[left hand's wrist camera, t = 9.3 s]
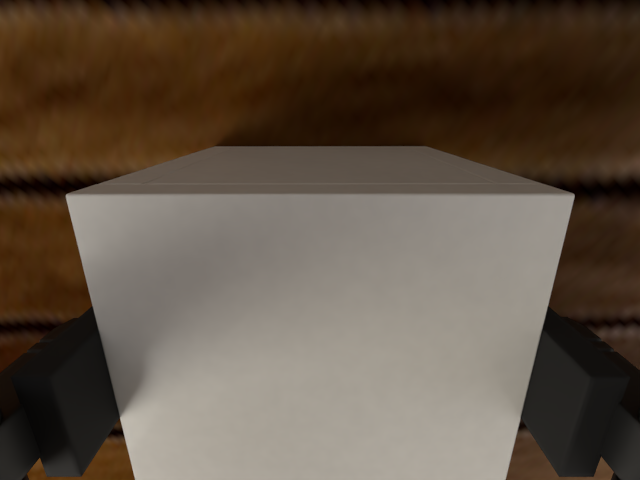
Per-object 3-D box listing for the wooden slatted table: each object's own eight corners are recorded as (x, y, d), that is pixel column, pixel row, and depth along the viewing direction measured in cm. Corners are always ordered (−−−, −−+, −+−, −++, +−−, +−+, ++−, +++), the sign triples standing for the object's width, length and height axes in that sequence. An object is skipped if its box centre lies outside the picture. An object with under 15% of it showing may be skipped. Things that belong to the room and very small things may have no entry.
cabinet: (397, 448, 24) (454, 695, 14) (243, 448, 24) (187, 694, 14) (426, 146, 18) (576, 193, 7) (213, 146, 18) (63, 193, 7)
